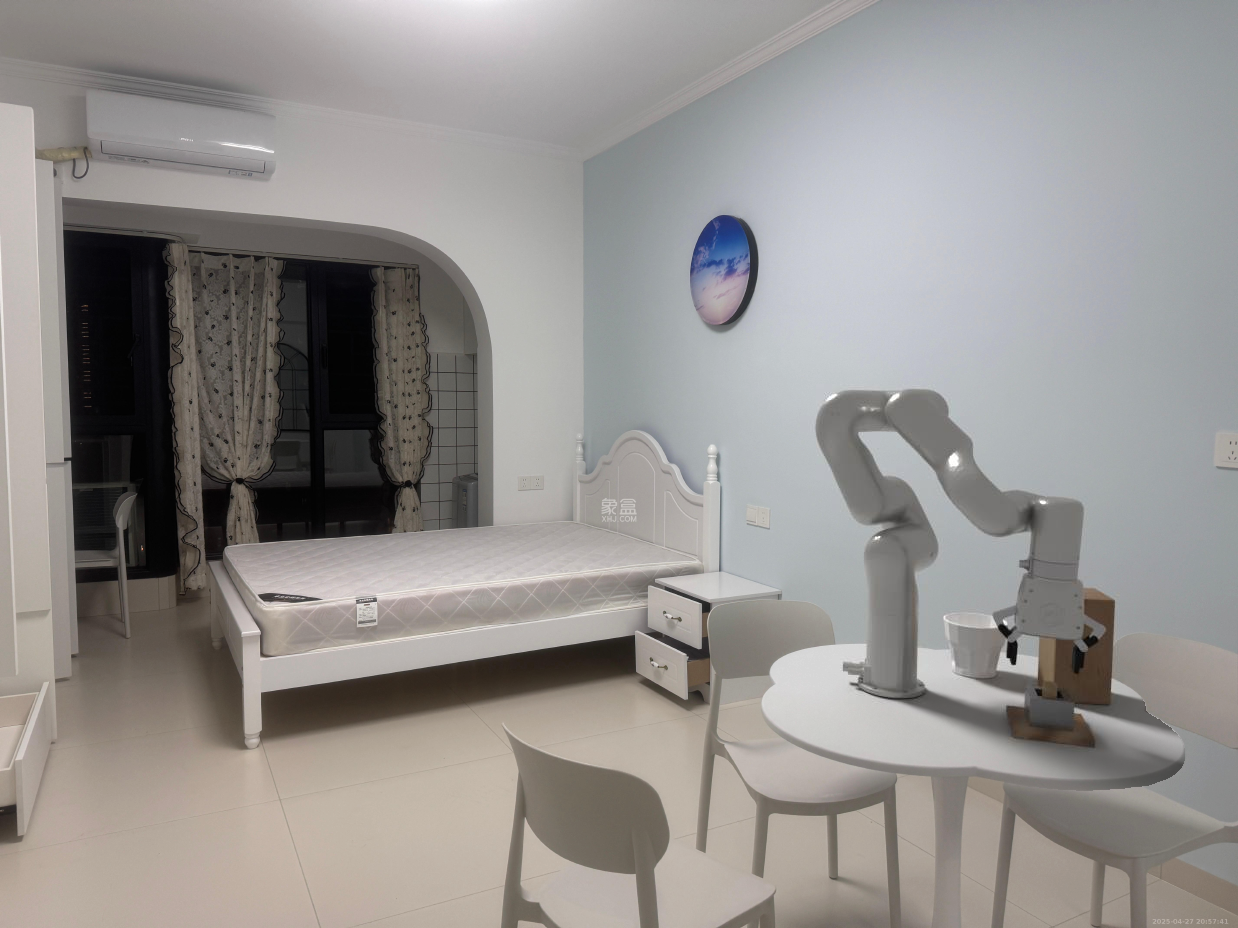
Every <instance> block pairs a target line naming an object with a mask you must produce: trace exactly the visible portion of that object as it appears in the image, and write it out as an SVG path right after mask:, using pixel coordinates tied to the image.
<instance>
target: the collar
mask: <svg viewBox="0 0 1238 928" xmlns="http://www.w3.org/2000/svg"><path fill="white" fill-rule="evenodd" d="M1023 703H1024V706H1023V707H1024V714H1025V716H1026V719H1027V722H1028V724H1029V727H1038V728H1046V729H1054V730H1063V731H1071V732H1073V725H1074V713H1075V703H1074V701H1073V699H1072V697H1071V695H1070V694H1069V692H1068V690H1067V689H1058V688H1057V698H1051V697H1042V687H1040V686H1039V685H1038V686H1037V685H1027V684H1025V685H1024V702H1023Z"/></svg>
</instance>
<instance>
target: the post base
mask: <svg viewBox="0 0 1238 928" xmlns="http://www.w3.org/2000/svg"><path fill="white" fill-rule="evenodd" d="M1042 697H1051V698H1057V683H1055V682H1051V681H1043V687H1042ZM1005 712H1006V716H1007V719H1008V723H1009V726H1010V730H1011V733H1012V735H1013V737H1012V738H1017V739H1026V740H1031V741H1032V740H1033V741H1041V742H1049V743H1056V744H1057V743H1058V744H1063V745H1073V746H1081V747H1087V748H1096V738H1095V737H1094V735H1093V733H1092V731H1091V729H1090V727H1089V726H1088V724H1087V722H1086V721H1085V718H1084V716H1083V715H1082V713H1078V712H1077V713H1075V712H1074V725H1073V732H1071V731H1063V730H1054V729H1046V728H1038V727H1029V724H1028V722H1027V719H1026V716H1025V714H1024V706H1016V705H1005Z"/></svg>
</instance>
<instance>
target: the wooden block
mask: <svg viewBox="0 0 1238 928" xmlns="http://www.w3.org/2000/svg"><path fill="white" fill-rule="evenodd" d="M1083 588H1084V614H1085V615H1087V616H1088V617H1090V618H1092V619H1093V620H1095V621H1097V622H1098V623H1100V624H1102V625H1103V626H1104V627H1105V628H1106V632H1105V633H1104V634H1103V635H1102V637H1101V638H1100V639H1099V640H1098V643H1096V644H1095V645H1093V646H1092V647H1090V648H1089V649H1088V650H1087V651H1086V652H1085V657H1084V667H1083V669H1082V668H1080V670H1079V674H1075V673H1074V672H1073V670H1072V668H1071V664H1072V654H1073V647H1074V646H1075V645H1076V644H1075V642H1074V641H1069V640H1060V639H1052V638H1044V637H1038V661H1037V663H1038V664H1037V684H1038V686H1039V687H1043V681H1051V682H1055V683H1057V688H1058V689H1067V690H1068V692H1069V694H1070V695H1071V697H1072V699H1073V701H1074V704H1087V705H1102V706H1109V705H1111V702H1112V701H1111V700H1112V699H1111V698H1112V682H1113V681H1112V679H1113V659H1114V658H1113V657H1114V655H1113V654H1114V634H1115V633H1114V632H1115V613H1116V611H1115V610H1116V601H1115V599H1114V598H1112V597H1110V596H1109V595H1106V593H1103V592H1101V591H1100V590H1099V589H1096V588H1093V587H1083ZM1092 632H1093V628H1091V627H1089V626H1088V625H1086V624H1084V629H1083V635H1082V640H1083V639H1084V638H1086V637H1087V636H1088V635H1090V634H1091V633H1092Z"/></svg>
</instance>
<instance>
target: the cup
mask: <svg viewBox="0 0 1238 928" xmlns="http://www.w3.org/2000/svg"><path fill="white" fill-rule="evenodd" d="M1003 622H1004V624H1005V625H1006V627H1007V628H1008V629H1009V623H1008V621H1006V620H1004V619H1003ZM943 625H944V634H945V638H946V640H947V642H948V644H949V653H950V659H951V671H952V672H954V674H955V675H959V676H962V677H966V678H970V679H983V680H985V679H986V680H987V679H991V678H994V677H996V676H997V668H998V663H999V659H1000V655H1001V651H1002V649H1003V648H1004V646H1005V644H1006V640H1007V639H1006V637H1005V636H1004V635H1003V634H1002V633H1001V632H1000V631H999V629H998V627H997V625H996V623H995V621H994V618H993V616H992V615H990V614H989V615H988V614H983V613H975V612H953V613H948V614H945V615H943Z"/></svg>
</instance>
